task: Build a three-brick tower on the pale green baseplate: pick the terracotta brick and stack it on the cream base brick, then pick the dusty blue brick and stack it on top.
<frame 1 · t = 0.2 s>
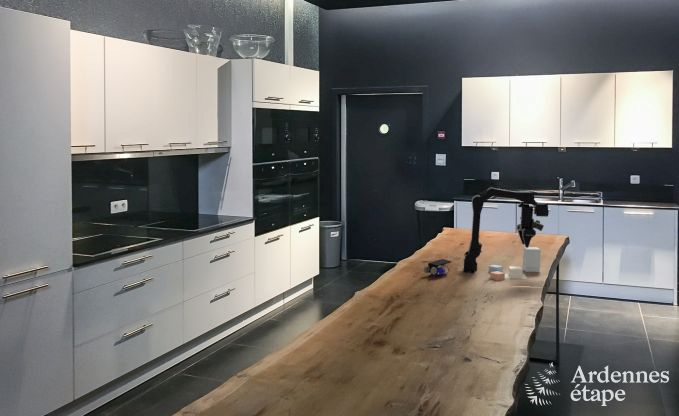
hand: (525, 246, 344), 14 cm above the table, tool pointing down, fingers open, 9 cm apart
blue brick: (495, 273, 346), on the table
baseplate: (513, 277, 337), on the table
supplement box: (530, 272, 350), on the table
figurine character: (437, 275, 340), on the table
terracotta brick: (497, 280, 331), on the table
base brick: (515, 275, 338), point 1 cm above the table, touching baseplate
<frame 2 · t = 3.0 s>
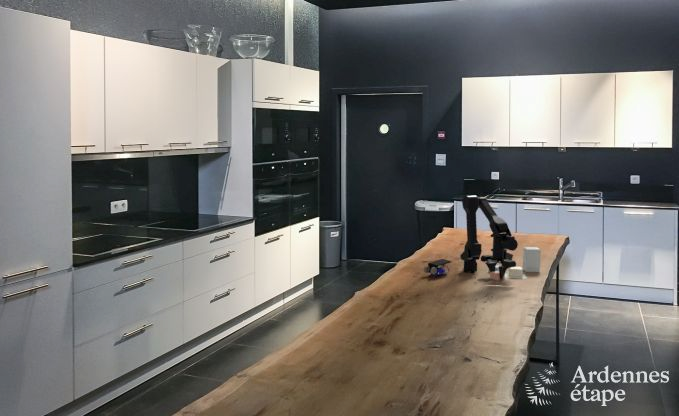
hand: (497, 278, 331), 1 cm above the table, tool pointing down, fingers closed on terracotta brick, 5 cm apart
terracotta brick: (497, 280, 331), on the table, touching gripper
everything else where it was.
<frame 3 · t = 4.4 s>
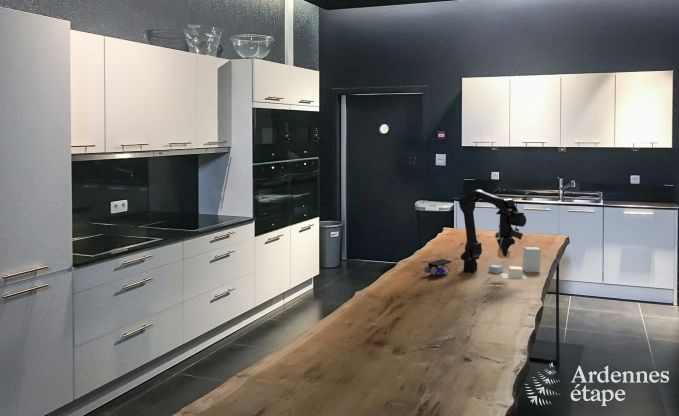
hand: (503, 255, 331), 12 cm above the table, tool pointing down, fingers closed on terracotta brick, 5 cm apart
terracotta brick: (503, 257, 331), point 11 cm above the table, touching gripper
everything else where it was.
when the fingers open (7 cm above the table, at t = 6.2 s): terracotta brick drops 1 cm, resting on base brick.
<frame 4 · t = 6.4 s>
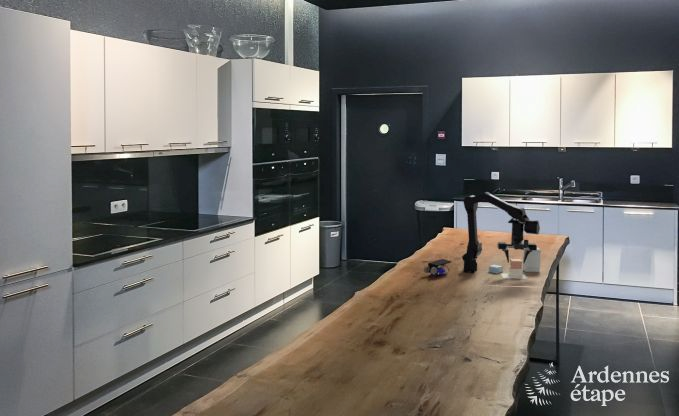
hand: (516, 263, 337), 7 cm above the table, tool pointing down, fingers open, 7 cm apart
terracotta brick: (515, 267, 337), point 5 cm above the table, touching base brick
base brick: (515, 275, 338), point 1 cm above the table, touching baseplate, terracotta brick
everything else where it was.
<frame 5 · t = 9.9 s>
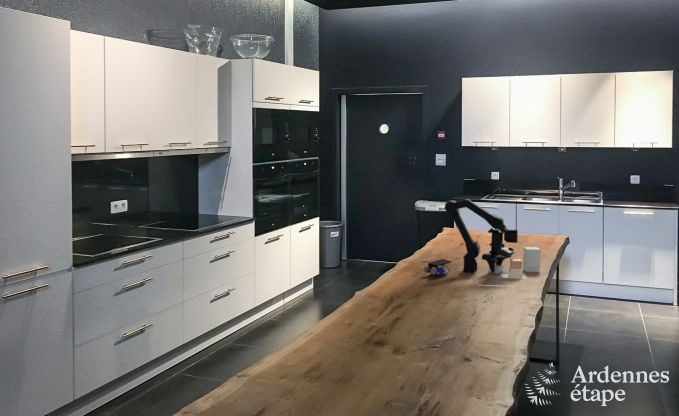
hand: (495, 271, 345), 1 cm above the table, tool pointing down, fingers closed on blue brick, 5 cm apart
blue brick: (495, 273, 346), on the table, touching gripper
everything else where it was.
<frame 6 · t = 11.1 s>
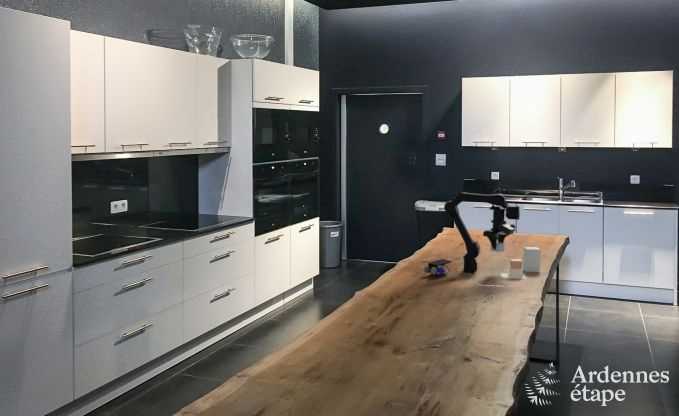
hand: (497, 248, 343), 13 cm above the table, tool pointing down, fingers closed on blue brick, 5 cm apart
blue brick: (497, 250, 344), point 12 cm above the table, touching gripper
everything else where it was.
when the fingers open (11 cm above the table, at t = 12.5 s): blue brick drops 1 cm, resting on terracotta brick.
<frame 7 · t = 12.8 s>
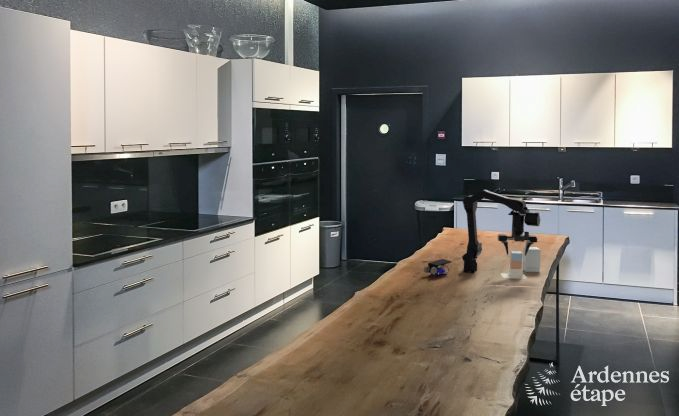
hand: (516, 255, 336), 11 cm above the table, tool pointing down, fingers open, 8 cm apart
blue brick: (516, 260, 337), point 9 cm above the table, touching terracotta brick
terracotta brick: (515, 267, 337), point 5 cm above the table, touching base brick, blue brick
everything else where it was.
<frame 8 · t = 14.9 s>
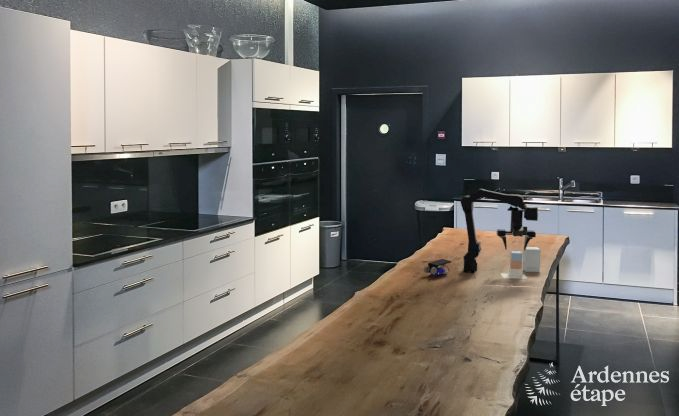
hand: (515, 250, 341), 13 cm above the table, tool pointing down, fingers open, 9 cm apart
nothing on the table moved.
at the end: terracotta brick 0.0 cm off-centre on the base brick, point 4.0 cm above the base brick's base; blue brick 0.0 cm off-centre on the base brick, point 8.0 cm above the base brick's base; blue brick tilted 0° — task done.
